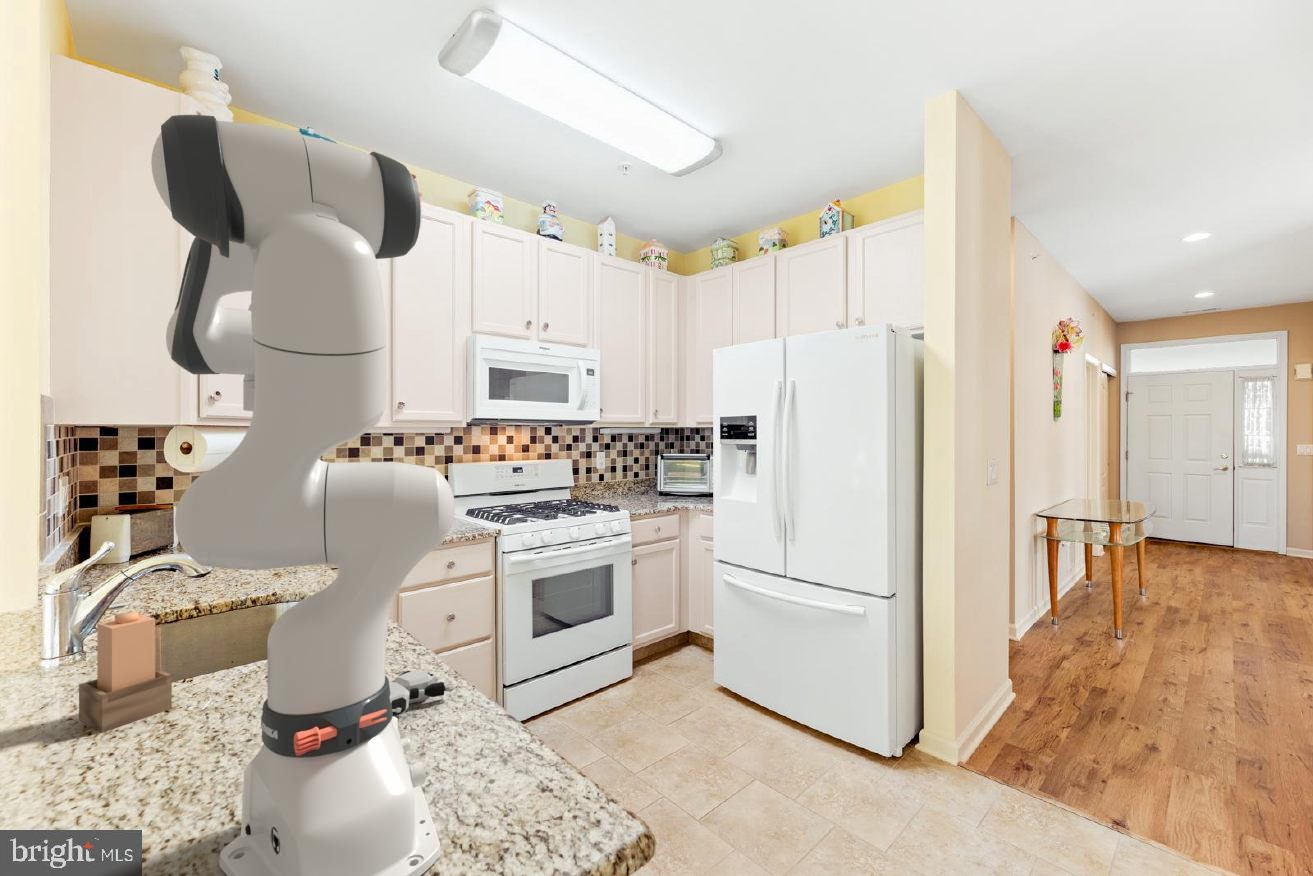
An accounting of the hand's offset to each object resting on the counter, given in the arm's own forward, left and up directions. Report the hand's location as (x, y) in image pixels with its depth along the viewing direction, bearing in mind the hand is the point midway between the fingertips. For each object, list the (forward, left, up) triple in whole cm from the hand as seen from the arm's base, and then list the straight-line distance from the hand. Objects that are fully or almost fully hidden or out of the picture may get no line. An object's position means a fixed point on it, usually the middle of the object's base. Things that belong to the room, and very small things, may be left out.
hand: (276, 484), depth 92 cm
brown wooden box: (+6, +18, -34) cm, 39 cm away
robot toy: (-20, -12, -34) cm, 42 cm away
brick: (+6, +18, -30) cm, 36 cm away
